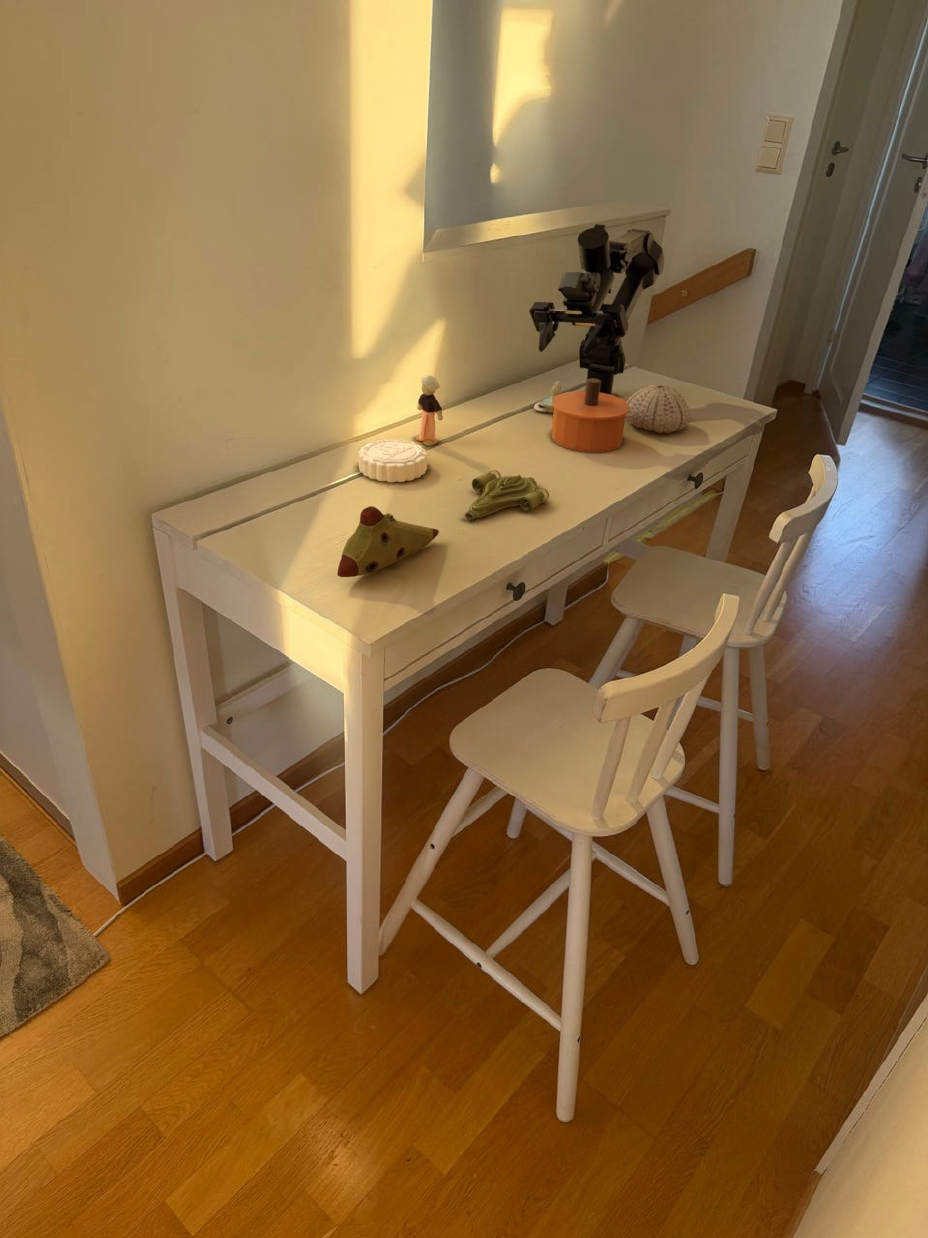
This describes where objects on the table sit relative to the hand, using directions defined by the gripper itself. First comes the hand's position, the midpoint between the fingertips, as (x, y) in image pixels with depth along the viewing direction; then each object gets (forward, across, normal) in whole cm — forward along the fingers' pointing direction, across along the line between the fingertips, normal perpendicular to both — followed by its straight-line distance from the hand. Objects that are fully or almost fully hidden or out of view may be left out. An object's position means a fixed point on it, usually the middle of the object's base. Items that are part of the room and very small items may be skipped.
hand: (561, 351), depth 166 cm
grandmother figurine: (+23, -19, +2) cm, 30 cm away
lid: (+4, +5, +10) cm, 12 cm away
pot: (+8, +4, +15) cm, 17 cm away
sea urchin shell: (-5, +12, +25) cm, 28 cm away
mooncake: (+35, -17, -6) cm, 40 cm away
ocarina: (+60, +2, -18) cm, 63 cm away
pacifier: (-2, -9, +19) cm, 21 cm away
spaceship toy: (+37, +5, -3) cm, 38 cm away
